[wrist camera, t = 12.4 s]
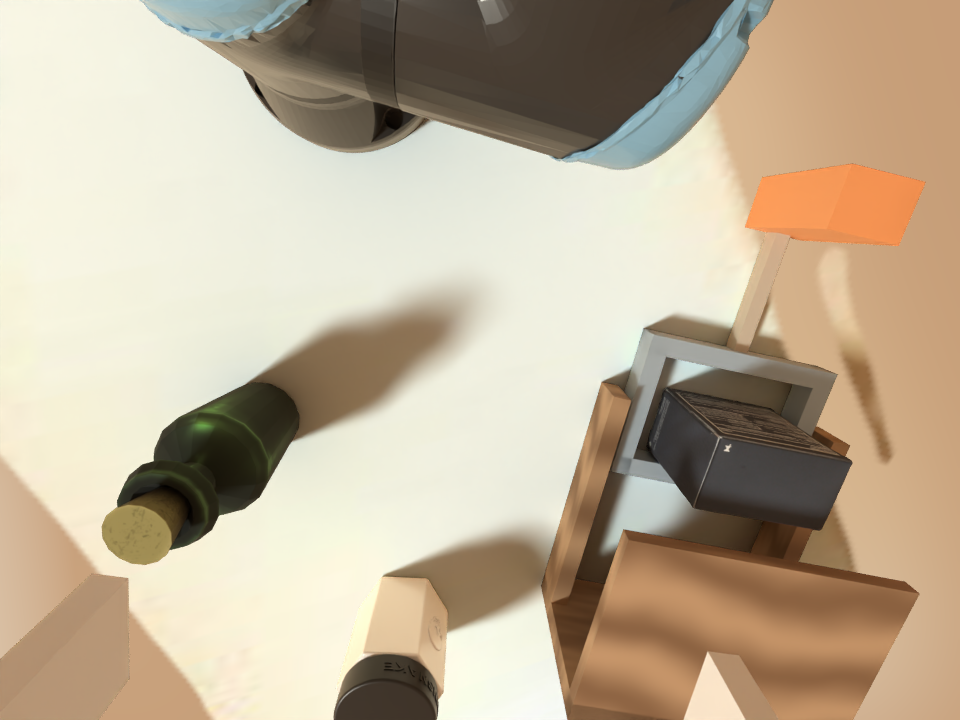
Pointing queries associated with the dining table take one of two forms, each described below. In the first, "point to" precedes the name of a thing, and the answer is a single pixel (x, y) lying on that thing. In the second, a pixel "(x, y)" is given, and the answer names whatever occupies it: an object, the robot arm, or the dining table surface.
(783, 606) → the shelf lane
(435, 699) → the jar
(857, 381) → the dining table surface
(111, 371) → the dining table surface
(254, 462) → the potion bottle
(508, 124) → the robot arm
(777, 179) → the grey and orange frame
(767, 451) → the small box
